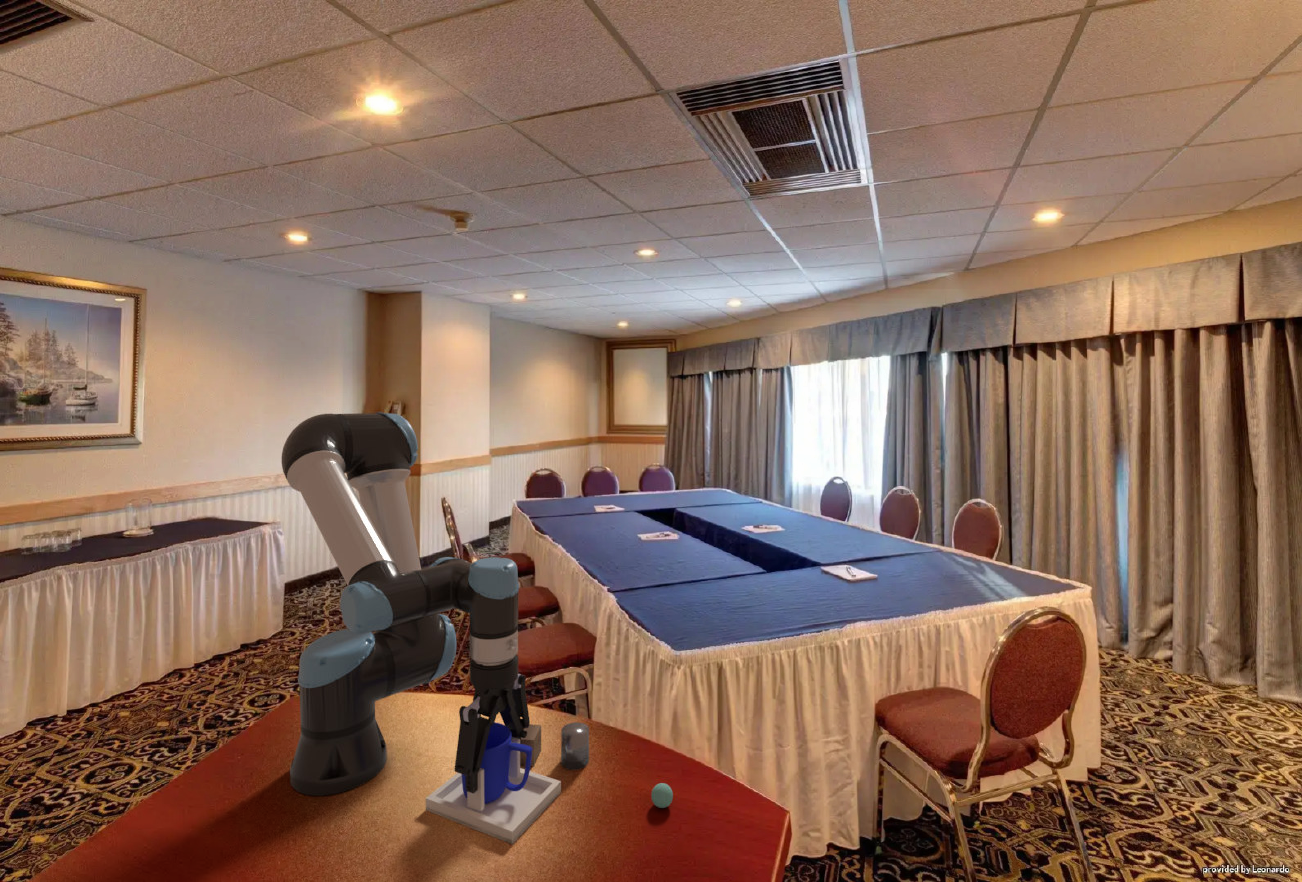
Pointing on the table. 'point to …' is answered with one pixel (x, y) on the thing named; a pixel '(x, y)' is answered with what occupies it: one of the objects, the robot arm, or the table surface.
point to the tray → (497, 805)
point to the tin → (575, 746)
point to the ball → (662, 795)
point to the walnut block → (531, 743)
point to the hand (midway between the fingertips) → (494, 790)
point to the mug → (500, 763)
